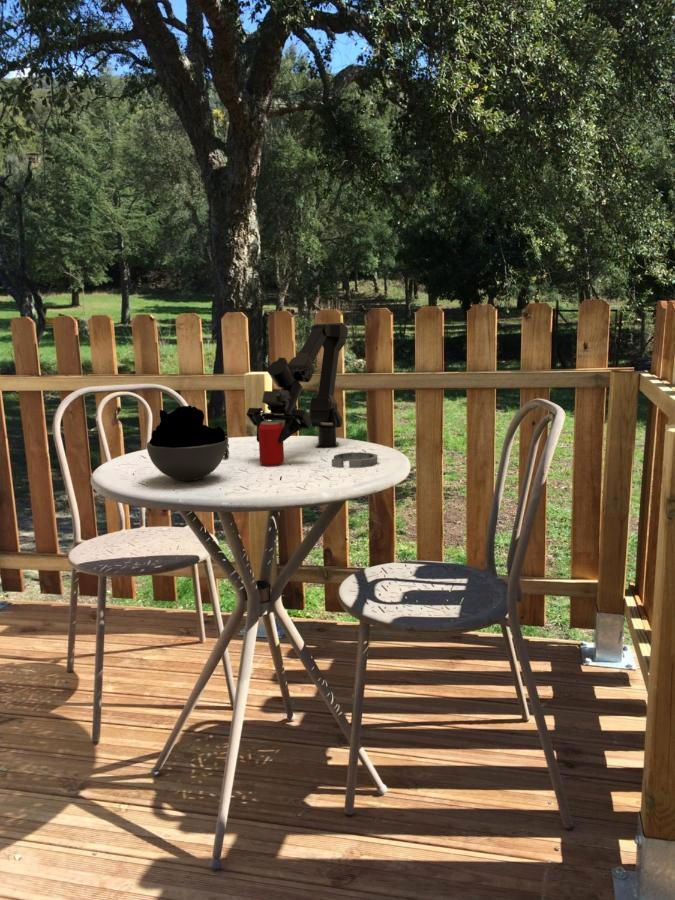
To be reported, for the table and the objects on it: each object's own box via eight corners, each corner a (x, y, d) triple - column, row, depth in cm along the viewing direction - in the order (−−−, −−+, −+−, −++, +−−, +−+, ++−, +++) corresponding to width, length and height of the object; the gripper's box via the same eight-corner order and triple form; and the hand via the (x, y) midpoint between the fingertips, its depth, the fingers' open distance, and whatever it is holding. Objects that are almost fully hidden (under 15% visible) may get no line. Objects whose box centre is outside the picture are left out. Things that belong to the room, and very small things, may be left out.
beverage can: (285, 462, 215) (284, 420, 213) (281, 466, 208) (280, 423, 206) (262, 462, 216) (260, 420, 214) (257, 466, 209) (255, 423, 207)
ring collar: (334, 459, 217) (334, 452, 217) (377, 458, 216) (377, 452, 216) (331, 467, 205) (331, 460, 205) (377, 467, 204) (377, 459, 204)
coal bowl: (220, 469, 206) (216, 400, 203) (236, 483, 188) (232, 408, 184) (144, 476, 199) (140, 405, 196) (154, 492, 181) (148, 413, 178)
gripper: (248, 379, 216) (227, 422, 208) (305, 380, 207) (285, 425, 200) (264, 403, 224) (245, 446, 216) (319, 405, 216) (301, 450, 208)
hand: (268, 441), depth 210 cm, fingers closed on beverage can, 7 cm apart
